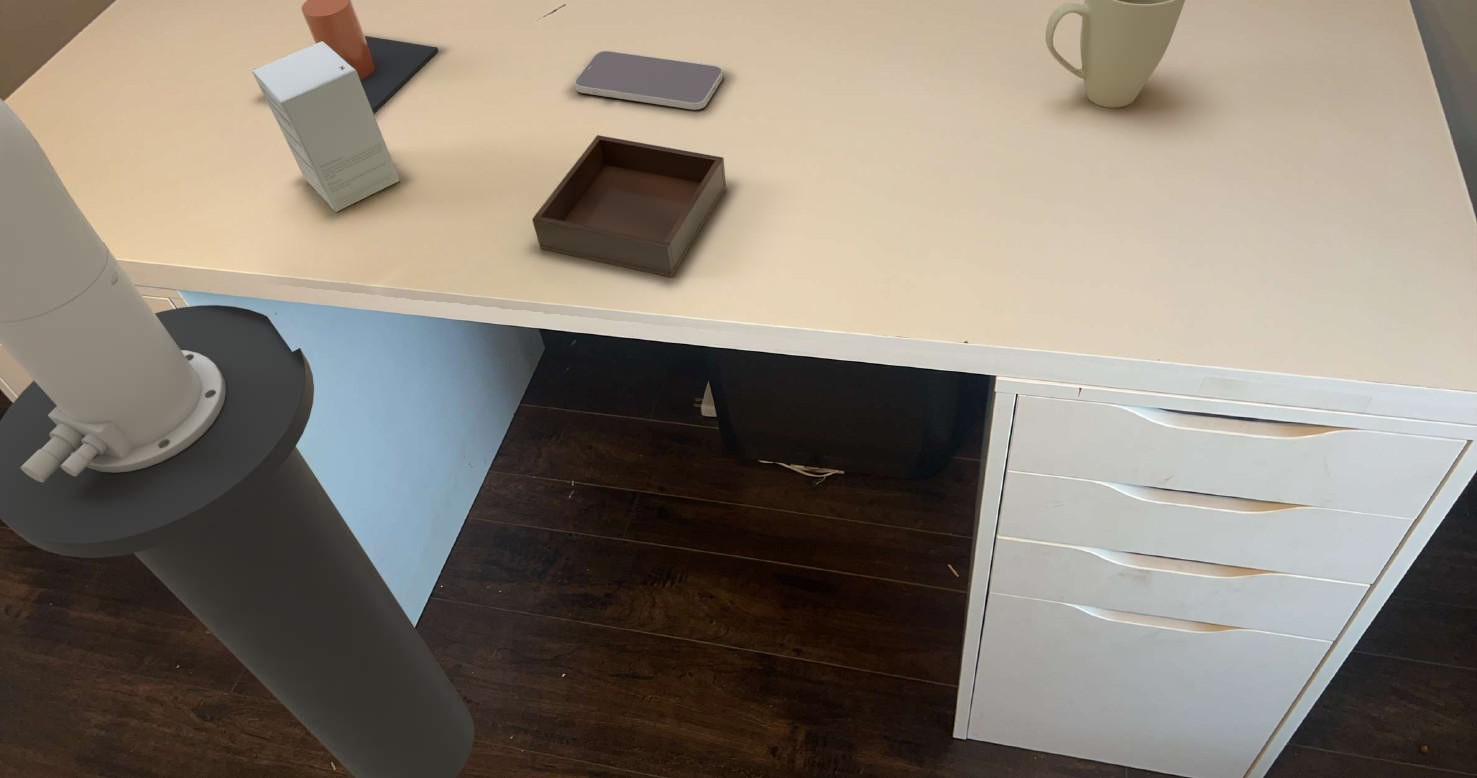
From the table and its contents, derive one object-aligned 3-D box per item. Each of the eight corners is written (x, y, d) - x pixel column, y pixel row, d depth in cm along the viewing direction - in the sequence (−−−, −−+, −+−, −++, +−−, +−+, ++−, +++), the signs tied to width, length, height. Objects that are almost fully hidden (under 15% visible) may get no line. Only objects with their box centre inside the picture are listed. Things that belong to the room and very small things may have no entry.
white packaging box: (370, 150, 103) (324, 38, 93) (402, 182, 99) (357, 68, 89) (303, 180, 100) (248, 68, 90) (333, 215, 96) (279, 101, 86)
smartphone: (701, 105, 103) (571, 85, 106) (702, 112, 103) (572, 92, 107) (725, 66, 107) (599, 49, 111) (726, 74, 108) (600, 56, 112)
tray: (671, 277, 87) (667, 247, 84) (540, 248, 91) (531, 219, 88) (726, 187, 95) (723, 157, 92) (603, 164, 99) (597, 134, 96)
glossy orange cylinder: (357, 86, 110) (331, 18, 104) (319, 79, 112) (291, 12, 106) (384, 61, 113) (359, -6, 107) (347, 55, 115) (320, -11, 109)
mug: (1086, 57, 105) (1110, -54, 96) (1173, 89, 101) (1208, -25, 92) (1028, 104, 101) (1048, -9, 92) (1117, 140, 96) (1148, 24, 87)
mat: (369, 118, 107) (367, 114, 106) (265, 98, 111) (263, 94, 110) (438, 50, 115) (437, 47, 115) (339, 35, 119) (338, 31, 119)
